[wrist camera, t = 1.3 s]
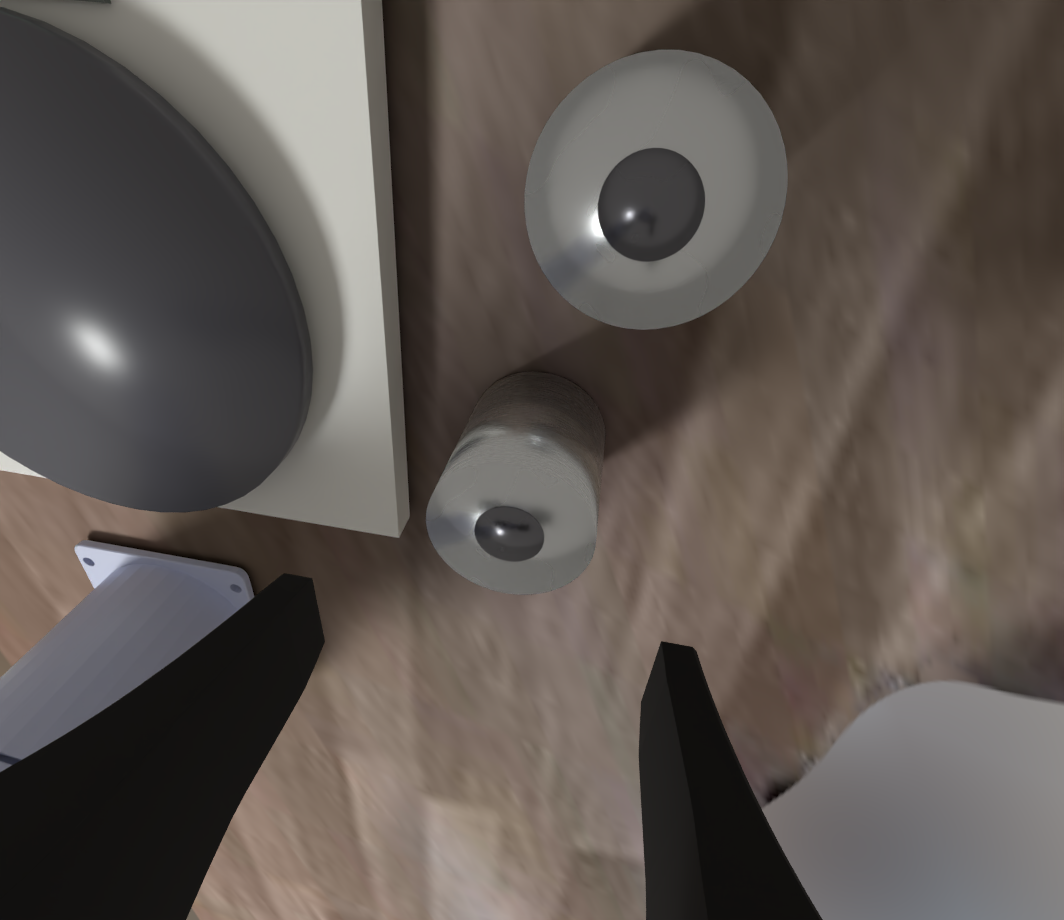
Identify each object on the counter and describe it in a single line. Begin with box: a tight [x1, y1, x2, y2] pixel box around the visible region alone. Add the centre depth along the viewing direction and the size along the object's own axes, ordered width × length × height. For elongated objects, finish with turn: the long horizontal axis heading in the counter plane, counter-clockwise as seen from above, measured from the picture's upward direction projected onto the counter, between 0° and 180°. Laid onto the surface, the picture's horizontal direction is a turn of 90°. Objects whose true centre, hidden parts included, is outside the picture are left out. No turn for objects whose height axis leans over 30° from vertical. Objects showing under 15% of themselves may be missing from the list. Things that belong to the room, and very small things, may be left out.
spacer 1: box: [426, 372, 605, 595], centre depth 16 cm, size 4×4×5 cm
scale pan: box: [0, 7, 313, 512], centre depth 16 cm, size 14×14×1 cm
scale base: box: [0, 0, 410, 538], centre depth 17 cm, size 17×18×2 cm
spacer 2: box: [525, 50, 788, 330], centre depth 12 cm, size 4×4×5 cm
